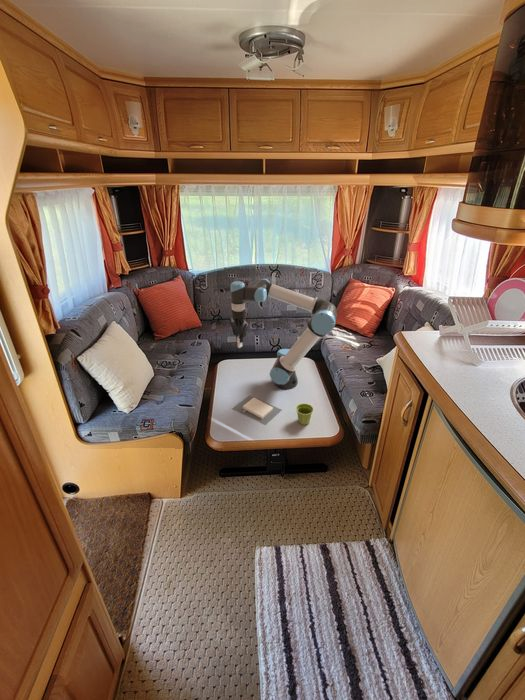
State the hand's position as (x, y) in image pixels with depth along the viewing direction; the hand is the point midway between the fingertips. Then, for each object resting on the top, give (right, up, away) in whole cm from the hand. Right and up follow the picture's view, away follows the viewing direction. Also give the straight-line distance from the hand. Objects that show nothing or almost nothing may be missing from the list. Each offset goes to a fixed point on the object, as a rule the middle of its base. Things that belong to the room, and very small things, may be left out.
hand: (240, 346), depth 204 cm
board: (+10, -37, -6) cm, 39 cm away
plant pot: (+36, -41, -14) cm, 57 cm away
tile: (+5, -32, -5) cm, 33 cm away
